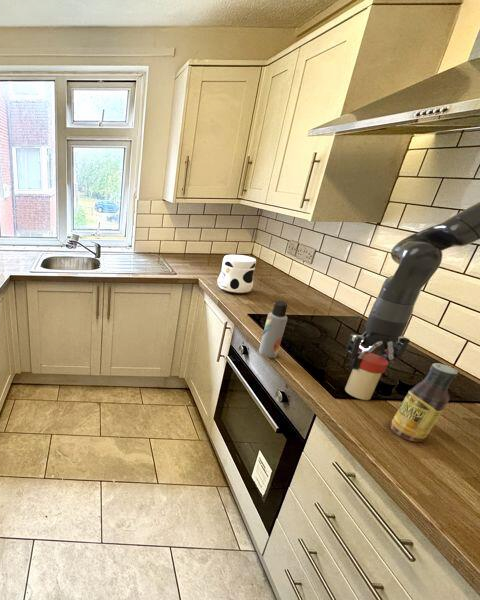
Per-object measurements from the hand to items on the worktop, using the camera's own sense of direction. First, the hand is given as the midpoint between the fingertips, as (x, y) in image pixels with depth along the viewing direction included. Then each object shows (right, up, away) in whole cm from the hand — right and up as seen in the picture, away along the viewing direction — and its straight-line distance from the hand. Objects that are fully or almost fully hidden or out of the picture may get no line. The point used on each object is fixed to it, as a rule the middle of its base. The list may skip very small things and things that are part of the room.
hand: (366, 368), depth 89 cm
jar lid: (0, +3, -2) cm, 3 cm away
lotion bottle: (-15, 0, +22) cm, 27 cm away
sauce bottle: (-1, -14, -11) cm, 18 cm away
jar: (0, -8, +3) cm, 8 cm away
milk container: (+2, +24, +82) cm, 85 cm away
